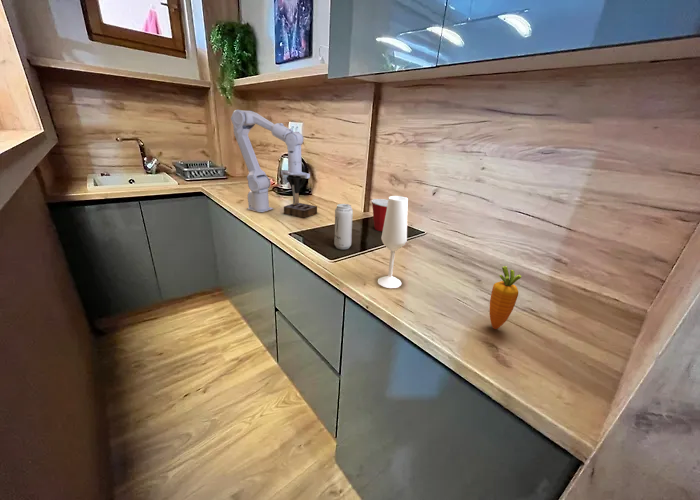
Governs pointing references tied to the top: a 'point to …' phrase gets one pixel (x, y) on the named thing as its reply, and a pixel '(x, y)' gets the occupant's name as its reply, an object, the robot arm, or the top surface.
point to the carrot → (503, 298)
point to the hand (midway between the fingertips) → (295, 192)
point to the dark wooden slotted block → (300, 210)
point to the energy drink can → (343, 226)
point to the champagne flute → (394, 234)
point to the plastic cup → (379, 212)
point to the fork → (295, 196)
